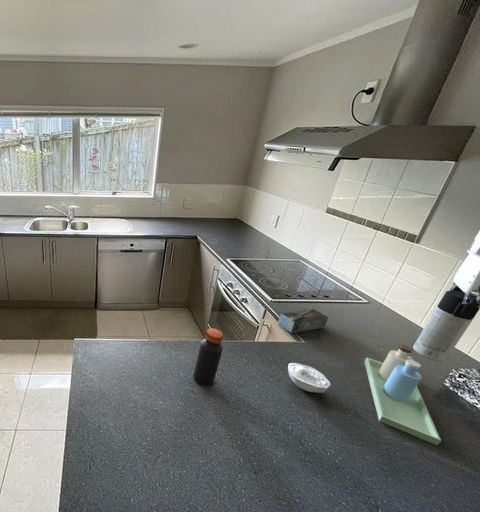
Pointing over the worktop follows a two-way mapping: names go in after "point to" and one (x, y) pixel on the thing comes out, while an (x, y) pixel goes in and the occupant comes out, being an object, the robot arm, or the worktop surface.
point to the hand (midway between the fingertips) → (456, 310)
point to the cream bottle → (394, 361)
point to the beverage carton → (302, 320)
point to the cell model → (308, 378)
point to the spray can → (443, 328)
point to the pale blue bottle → (402, 381)
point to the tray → (401, 408)
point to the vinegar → (208, 358)
